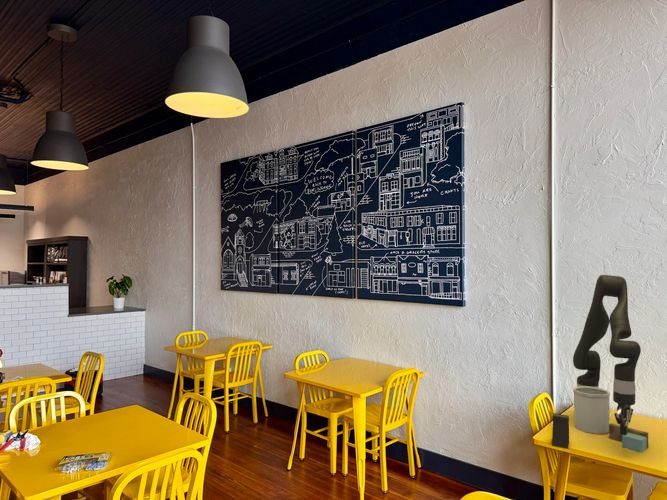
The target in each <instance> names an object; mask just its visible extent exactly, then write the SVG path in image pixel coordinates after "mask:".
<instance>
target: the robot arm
mask: <svg viewBox="0 0 667 500" xmlns="http://www.w3.org/2000/svg"><path fill="white" fill-rule="evenodd" d="M605 297H610V298H617V304H616V306H615V307H614V308H613V310H612V312H611V313H610V316H609V315H608V313H607V310H606V307H605V305H604V298H605ZM628 300H629V299H628V283H627V281H626V279H625V278H624V277H623V276H619V275H609V274H601V275H599V276H598V277H597V279H596V283H595V287H594V291H593V297H592V301H591V305H590V307H589V311H588V313H587V316H586V320H585V322H584V326H583V330H582V333H581V337H580V340H579V342H578V344H577V345H576V348H575V350H574V353H573V357H572V364H573V367H575V369H576V370H580V371H586V372H585V373H583V374H581V375H578V376H577V377H576V387H579V386H589V387H597V388H600V387H599V386H600V385H599V383H600V379H601V364H602V363H601V362H602V361H601V356H600V354H599V353H598V352H597V351H596V350H591V348H593V346H594V345H595V344H597V343H598V342H600V341H601V340H602V339H603V338H604V337H605V336H606V334H607V332H608V329H609V326H610V332H611V334H610V335H611V337H610V343H609V347H608V348H609V350H608V351H609V353H610V355H611V356H612V357H613V358H616V359H617V358H618V359H627V361H625V362H619V363H615V364H614V369H613V382H612V383H613V384H612V386H613V389H612V390H613V391H612V392H613V394H612V400H613V402H614V403H617V407H616V412H614V418H615V421H616V425H620V434H622V435H627V433H628V428H629V427H628V426H629V423H631V419H632V416H633V413H634V408H631V406H634V405H636V382H635V381H636V367H637V364H638V361H639V359H640V355H641V351H642V349H641V345H640V344H639V342H637V341H635V340H626V339H629V338H630V337H631V336H632V327H631V324H630V319H629V306H628Z"/></svg>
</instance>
